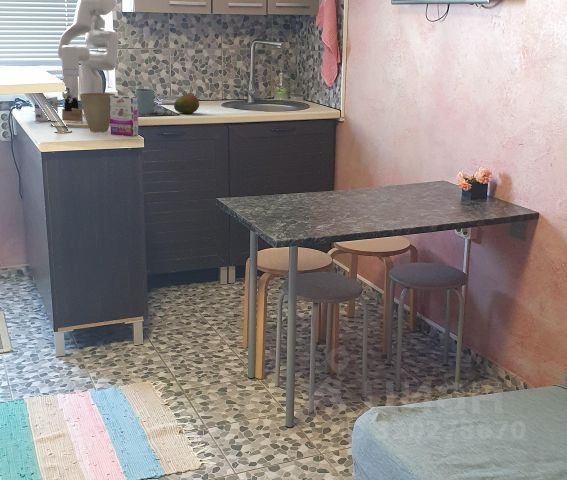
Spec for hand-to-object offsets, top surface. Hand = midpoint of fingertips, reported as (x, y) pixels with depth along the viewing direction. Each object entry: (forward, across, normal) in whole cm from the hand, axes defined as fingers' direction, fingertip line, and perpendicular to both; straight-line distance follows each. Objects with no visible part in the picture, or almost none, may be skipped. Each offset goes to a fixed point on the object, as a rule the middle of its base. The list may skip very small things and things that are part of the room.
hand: (71, 110), depth 375 cm
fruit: (+3, -50, +45) cm, 67 cm away
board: (+6, +11, +5) cm, 14 cm away
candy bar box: (+7, +34, +34) cm, 48 cm away
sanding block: (+5, -1, 0) cm, 5 cm away
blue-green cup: (+4, -46, +24) cm, 52 cm away
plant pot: (+6, +26, +20) cm, 33 cm away
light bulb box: (+5, -3, -13) cm, 14 cm away
